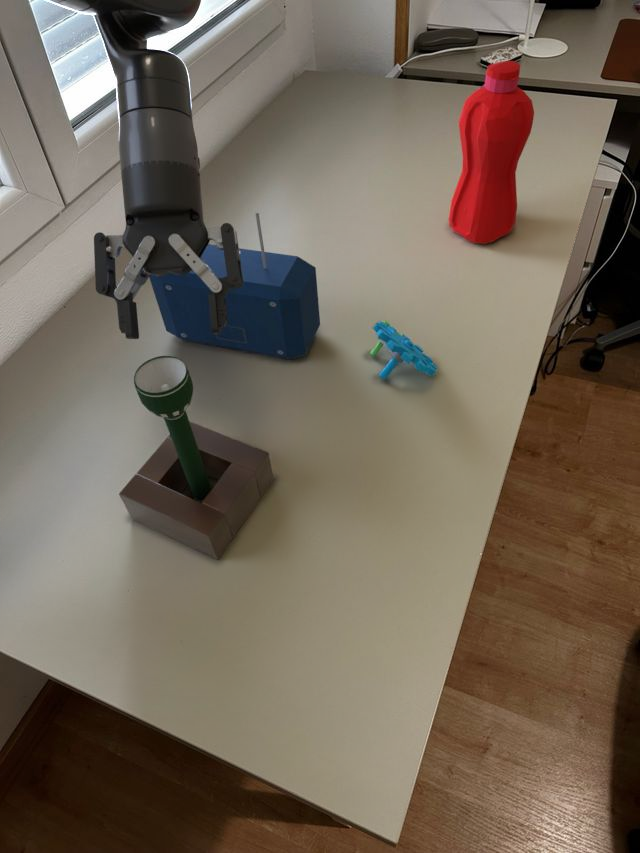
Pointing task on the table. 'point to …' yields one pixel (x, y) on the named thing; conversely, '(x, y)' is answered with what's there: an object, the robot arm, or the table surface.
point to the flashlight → (174, 413)
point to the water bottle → (491, 155)
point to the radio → (246, 304)
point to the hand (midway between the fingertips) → (174, 335)
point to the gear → (400, 350)
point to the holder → (222, 508)
